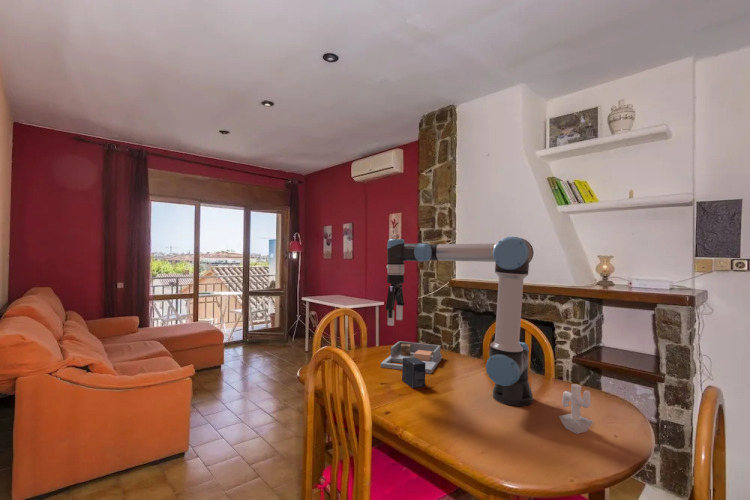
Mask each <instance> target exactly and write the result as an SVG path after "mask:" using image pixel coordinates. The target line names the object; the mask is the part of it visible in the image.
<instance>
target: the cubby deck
mask: <svg viewBox="0 0 750 500" xmlns="http://www.w3.org/2000/svg"><path fill="white" fill-rule="evenodd" d="M401 344H410V356H408V355H401ZM418 350H424V351H433V357H432V358H431V359H430V361H425V360H421V361H423V362H424V363H426V364H425V374H432V373H433V372H434V370H435V369H436V368H437V366H438V365H439V363H440V362H441V361H442V360H443V354H441V345H440V344H432V343H431V344H429V343H421V342H411V341H410V342H409V341H402V340H400V341H399V340H398V341H397V342H396V343H395V344H393V345H391V347H390V355H389V356H388V357H386V358H385V359H384V360H383V361H382V362H380V368H383V369H384V368H385V369H391V368H392V370H400V371H403V358H409V357H414V353H415V352H416V351H418ZM399 363H400V364H399Z"/></svg>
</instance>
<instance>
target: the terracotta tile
mask: <svg viewBox="0 0 750 500" xmlns="http://www.w3.org/2000/svg"><path fill="white" fill-rule="evenodd" d="M414 357H416V358H417V359H419V360H425V361H430V359H431V358H432V357H433V351H424V350H418V351H416V352H415V353H414Z"/></svg>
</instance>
